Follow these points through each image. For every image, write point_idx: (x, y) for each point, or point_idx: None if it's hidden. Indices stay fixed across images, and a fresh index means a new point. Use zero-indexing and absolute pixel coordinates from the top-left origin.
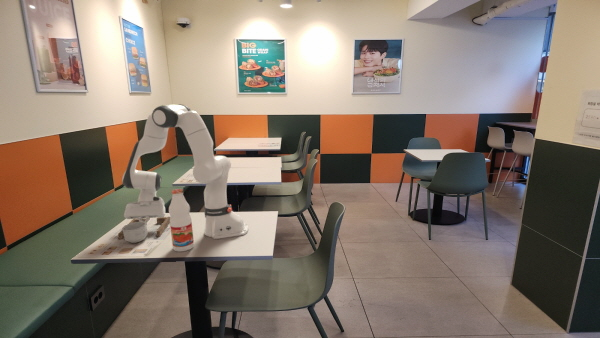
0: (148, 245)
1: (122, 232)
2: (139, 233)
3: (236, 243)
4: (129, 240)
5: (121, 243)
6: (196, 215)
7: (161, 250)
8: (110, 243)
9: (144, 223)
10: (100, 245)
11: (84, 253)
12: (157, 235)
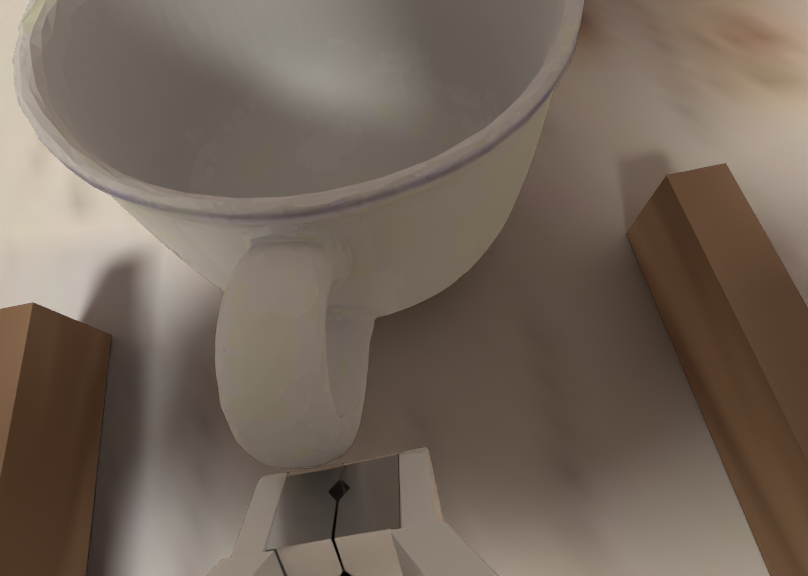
0: None
1: (687, 226)
2: (193, 10)
3: None
4: (372, 48)
5: None
6: None
7: (11, 41)
8: (684, 106)
9: (101, 160)
10: (776, 52)
11: None
12: (90, 330)
